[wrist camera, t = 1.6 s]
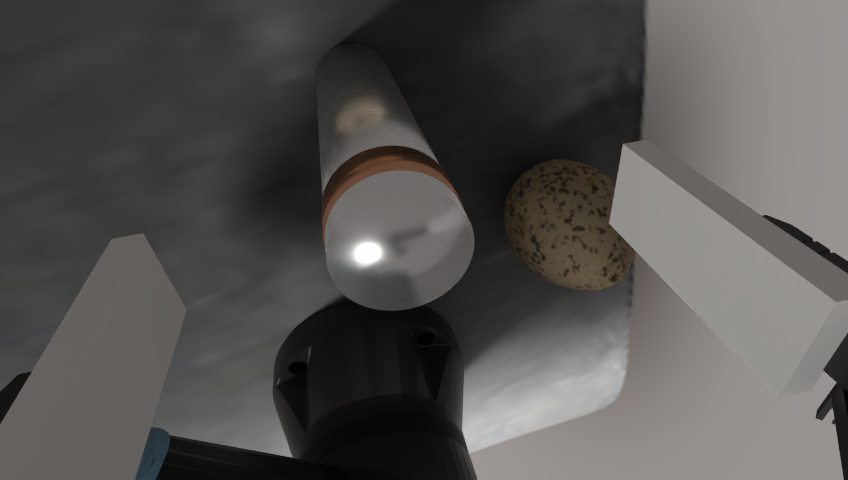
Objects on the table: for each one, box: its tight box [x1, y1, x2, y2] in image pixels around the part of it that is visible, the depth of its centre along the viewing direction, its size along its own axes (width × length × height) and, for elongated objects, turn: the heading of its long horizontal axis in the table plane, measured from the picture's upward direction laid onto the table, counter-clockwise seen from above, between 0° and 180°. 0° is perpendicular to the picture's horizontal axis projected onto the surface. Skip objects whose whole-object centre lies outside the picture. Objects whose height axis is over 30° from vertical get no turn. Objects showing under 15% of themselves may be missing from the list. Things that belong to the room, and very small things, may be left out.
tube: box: [316, 43, 474, 311], centre depth 19 cm, size 4×4×16 cm
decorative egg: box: [504, 159, 635, 291], centre depth 28 cm, size 7×7×10 cm
